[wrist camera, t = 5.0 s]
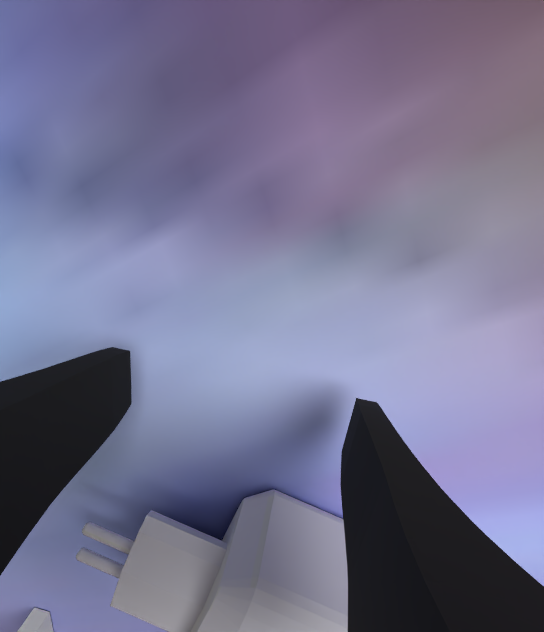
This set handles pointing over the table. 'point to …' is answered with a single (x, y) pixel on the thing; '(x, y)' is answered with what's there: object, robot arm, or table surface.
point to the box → (37, 622)
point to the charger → (233, 570)
